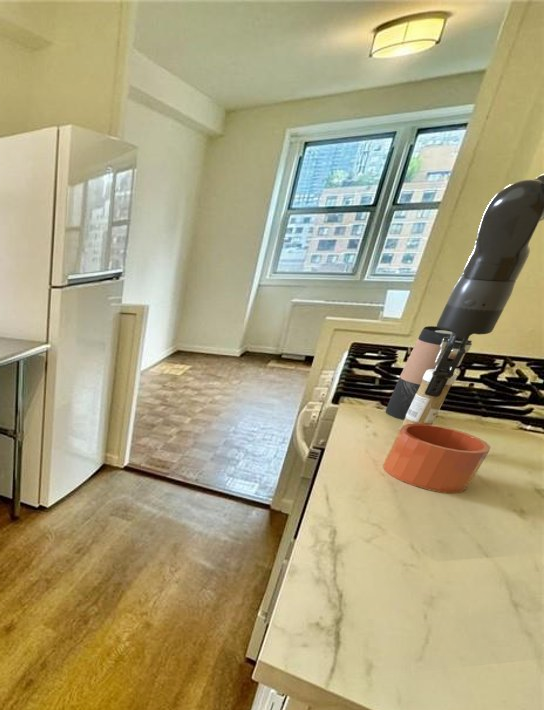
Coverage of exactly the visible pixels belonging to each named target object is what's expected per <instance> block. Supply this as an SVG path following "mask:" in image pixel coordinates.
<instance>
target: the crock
mask: <svg viewBox="0 0 544 710" xmlns="http://www.w3.org/2000/svg"><path fill="white" fill-rule="evenodd" d="M401 426H402V425H401ZM490 450H491V445H490V444H488V442H486V441H484V440H483V439H481V438H480V437H477V436H475V435H473V434H470V433H467V432H465V431H464V432H463V431H461V430H458V429H454V428H450V427H447V426H442V425H435V424H432V425H430V424H407V425H404V426H402V428H401V429H400V431H399V430H398V433H397V435H396V438H395V440H394V442H393V444H392V446H391V448H390V450H389V452H388V454H387V455H386V458H385V460H384V462H383V465H382V468H383V469H384V471H385V472H386V473H387V474H388V475H390V476H391V477H393V478H395V479H396V480H398V479H399V480H398V481H401V480H402V481H401V482H403V481H405V482H406V483H405V482H404V483H405V484H408V483H409V484H408V485H410V484H411V485H410V486H413V485H414V486H413V487H416V486H419V487H422V488H421V489H423V488H426V489H425V490H427V489H430V490H429V491H431V490H435V491H434V492H436V491H439V492H438V493H444V492H446V493H445V494H458V493H462V492H464V491H466V490H467V488H469V486H470V484H471V482H472V481H473V480H474V477H475V476H476V474H477V473H478V471H479V469H480V467H481V466H482V464H483V462H484V461H485V459H486V458H487V456H488V454H489V453H490ZM419 487H418V488H419Z"/></svg>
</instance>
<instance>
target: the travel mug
mask: <svg viewBox="0 0 544 710" xmlns="http://www.w3.org/2000/svg"><path fill="white" fill-rule="evenodd" d="M451 333H452V331H446V330H443V329H440V328H438V327H437V325H436V326H434V325H430V326H429V325H428V326H425V327H423V328H422V330H421V331H420V334H419V336H418V338H417V339H416V342H415V344H414V346H413V348H412V351H411V352H410V354H409V356H408V359H407V361H406V362H405V364H404V367H403V369H402V371H401V373H400V375H399V377H398V380H397V382H396V385H395V387H394V390H393V392H392V394H391V396H390V398H389V401H388V404H387V406H386V409H385V413H386V415H389V416H390V417H392V418H396V419H399V420H403V421H404V419H405V417H406V414H407V412H408V410H409V407H410V405H411V403H412V401H413V399H414V397H415V395H416V393H417V391H418V389H419V387H420V385H421V383H422V380H423V376H424V374H425V372H426V371H427V370H429V369H434V365H436V364H435V361H436V356H437V354H438V352H439V350H440V345H441V342H442V340H443V338H444V337H447V336H449V334H451Z"/></svg>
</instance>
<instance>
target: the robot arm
mask: <svg viewBox="0 0 544 710" xmlns="http://www.w3.org/2000/svg"><path fill="white" fill-rule="evenodd" d="M542 221H544V173H543V174H540V175H539V176H537V177H535V178H532V179H523V180H519V181H516V182H513V183H511V184H509V185H507V186H505V187H503V188H502V189H501V190H500V191H499V192H497V193H496V194H495V195H494V196H493V198H492V199H491V201H489V204H488V205H487V207H486V209H485V211H484V213H483V216H482V219H481V222H480V225H479V228H478V232H477V237H476V239H475V244H474V249H473V251H472V253H471V255H470V256H469V258H468V261H467V262H466V264H465V267H464V269H463V271H462V273H461V275H460V277H459V279H458V281H457V282H456V284H455V285H454V287H453V289H452V291H451V293H450V295H449V297H448V300H447V302H446V304H445V306H444V308H443V310H442V313H441V315H440V317H439V319H438V321H437V323H436V326H437V327H438V328H440V329H443V330H446V331H452V333H451V334H449V336H447V337H444V338H443V340H442V342H441V345H440V350H439V352H438V354H437V356H436V361H435V364H436V365H434V369H435V371H434V372H433V373H432V374H433V375H432V379H431V381H430V383H429V385H428V387H427V389H426V391H425V394H426V395H429V396H435V397H438V396H440V394H441V392H442V390H443V388H444V386H445V384H446V382H447V380H448V379H450V378H451V377H452V376H453V373H455V372H456V370H457V368H458V367H460V365H461V364H462V361H463V360H464V357H465V356H466V353H468V352H469V351H470V349H471V347H472V345H473V343H472V342H473V340H470V337H471V336H473V335H488V334H490V333H492V332H493V330H494V328H495V327H496V325H497V323H498V321H499V320H500V317H501V316H502V313H503V311H504V309H505V307H506V305H507V304H508V302H509V300H510V299H511V296H512V294H513V290H514V288H515V286H516V285H515V284H516V282H517V280H518V278H519V276H520V274H521V272H522V270H523V268H524V267H525V264H526V263H527V261H528V258H529V255H530V252H531V248H530V246H529V244H530V241H531V240H532V237H533V236H534V233H535V232H536V229H537V227H538V224H539V223H540V222H542ZM445 370H446V371H445Z"/></svg>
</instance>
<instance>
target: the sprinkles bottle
mask: <svg viewBox="0 0 544 710" xmlns="http://www.w3.org/2000/svg"><path fill="white" fill-rule="evenodd" d="M434 371H435V369H429V370H427V371H426V372H425V374H424V376H423V380H422V383H421V385H420V387H419V389H418V391H417V393H416V395H415V397H414V399H413V401H412V403H411V405H410V407H409V410H408V412H407V414H406V417H405V419H404V420H403V421H402V423H401V425H400V427H399V428H398V432H399V431H400V429H401V428H402V426H404V425H407V424H430V425H433V423H434V422H435V420H436V418H437V416H438V413H439V412H440V410H441V407H442V405H443V404H444V402H445V399H446V397H447V395H448V393H449V391H450V389H451V387H452V386H453V385H454V384H455V382H456V380H457V378H458V374H457V373H455V372H454V373H453V376H452V377H451V378H450V379H448V380H447V382H446V384H445V386H444V388H443V390H442V392H441V394H440V396H438V397H435V396H429V395H426V394H425V391H426V389H427V387H428V385H429V383H430V381H431V379H432V375H433V374H432V373H433V372H434ZM445 371H446V370H445Z"/></svg>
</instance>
